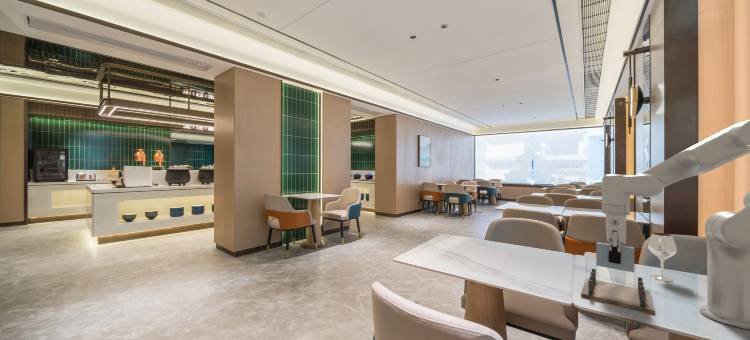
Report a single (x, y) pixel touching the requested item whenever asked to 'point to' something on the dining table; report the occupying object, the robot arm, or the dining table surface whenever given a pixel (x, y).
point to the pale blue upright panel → (625, 265)
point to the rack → (618, 294)
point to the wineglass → (662, 250)
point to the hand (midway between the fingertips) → (614, 261)
